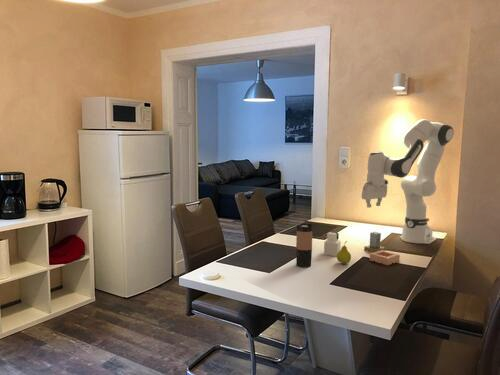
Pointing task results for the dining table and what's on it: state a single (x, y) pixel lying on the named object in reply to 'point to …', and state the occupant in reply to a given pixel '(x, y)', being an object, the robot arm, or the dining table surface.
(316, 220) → the dining table surface
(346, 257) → the fruit
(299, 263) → the travel mug
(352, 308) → the dining table surface
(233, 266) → the dining table surface
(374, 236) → the metal peg
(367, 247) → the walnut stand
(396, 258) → the terracotta socket
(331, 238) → the medicine bottle
